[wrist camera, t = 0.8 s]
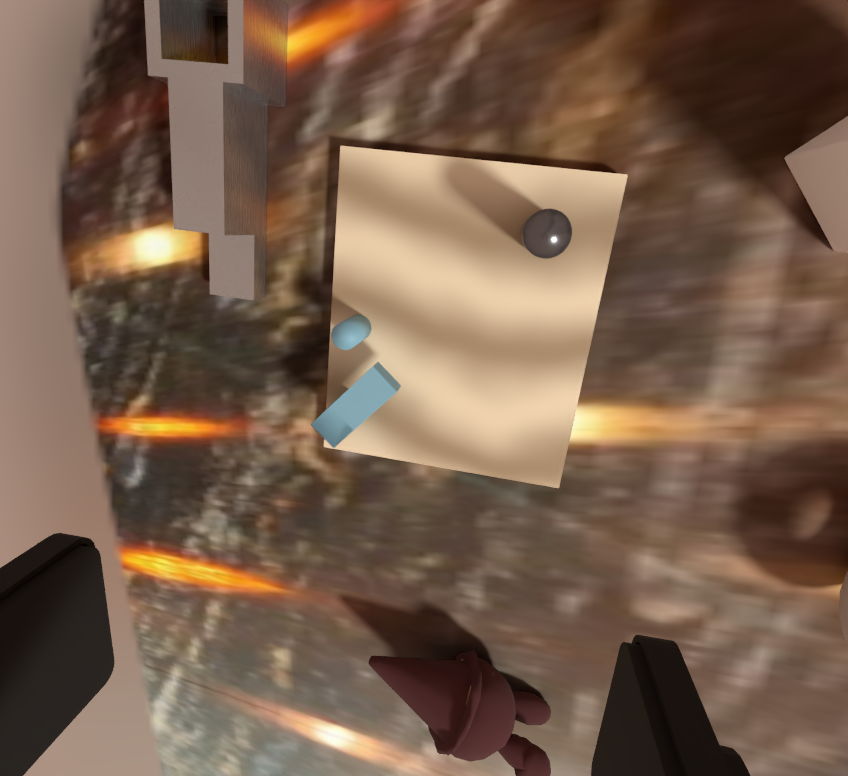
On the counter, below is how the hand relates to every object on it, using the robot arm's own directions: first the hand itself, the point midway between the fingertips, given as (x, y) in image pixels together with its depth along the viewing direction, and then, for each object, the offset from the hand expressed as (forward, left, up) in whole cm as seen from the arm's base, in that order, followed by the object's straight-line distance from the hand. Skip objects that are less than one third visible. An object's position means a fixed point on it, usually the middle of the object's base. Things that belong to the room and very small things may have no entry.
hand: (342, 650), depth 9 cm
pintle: (-7, +3, -24) cm, 25 cm away
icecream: (+26, +4, -25) cm, 36 cm away
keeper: (+2, -7, -25) cm, 26 cm away
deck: (-1, 0, -25) cm, 25 cm away
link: (-10, -15, -25) cm, 31 cm away
